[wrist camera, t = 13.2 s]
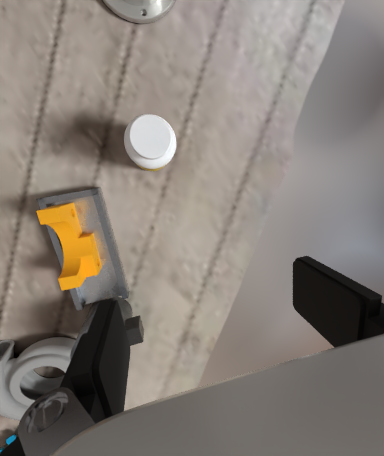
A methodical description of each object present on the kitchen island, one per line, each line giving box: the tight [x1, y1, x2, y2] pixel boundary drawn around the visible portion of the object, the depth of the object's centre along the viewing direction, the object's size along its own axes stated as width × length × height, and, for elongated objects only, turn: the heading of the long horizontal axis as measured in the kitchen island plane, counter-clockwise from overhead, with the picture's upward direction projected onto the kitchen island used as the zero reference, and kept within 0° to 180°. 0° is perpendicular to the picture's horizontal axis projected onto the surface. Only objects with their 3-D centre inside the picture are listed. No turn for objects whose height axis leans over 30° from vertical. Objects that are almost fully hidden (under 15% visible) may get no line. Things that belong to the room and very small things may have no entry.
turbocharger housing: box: [0, 337, 76, 420], centre depth 39 cm, size 17×7×15 cm
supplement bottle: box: [124, 114, 176, 171], centre depth 30 cm, size 7×7×13 cm
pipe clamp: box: [36, 202, 102, 290], centre depth 33 cm, size 12×4×6 cm, turn 7°
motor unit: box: [37, 188, 144, 359], centre depth 33 cm, size 28×11×12 cm, turn 9°
